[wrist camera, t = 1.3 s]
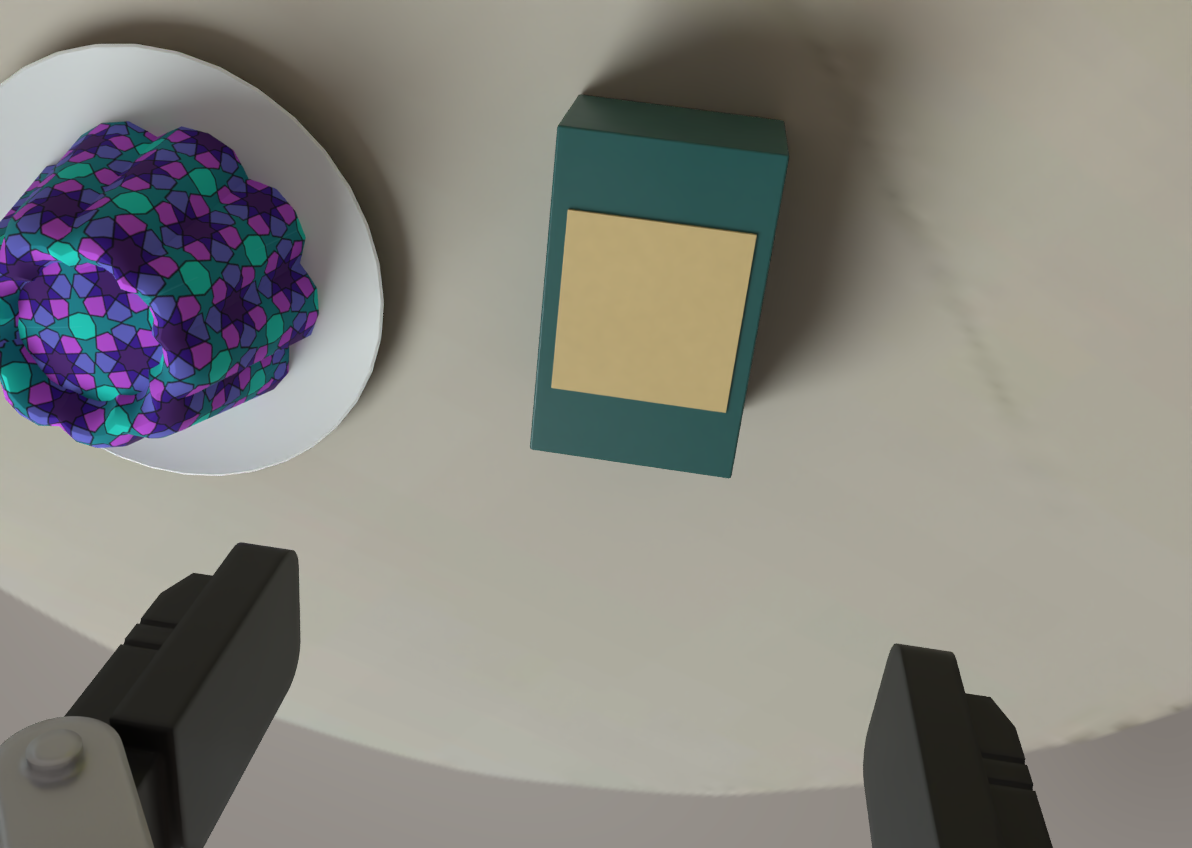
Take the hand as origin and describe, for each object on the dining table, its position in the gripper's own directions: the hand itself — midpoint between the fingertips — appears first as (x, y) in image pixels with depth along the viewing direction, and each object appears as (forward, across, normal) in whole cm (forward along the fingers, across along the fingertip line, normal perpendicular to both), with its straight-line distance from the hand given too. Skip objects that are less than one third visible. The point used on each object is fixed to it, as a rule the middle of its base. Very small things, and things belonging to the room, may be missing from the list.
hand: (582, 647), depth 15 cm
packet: (+16, 0, 0) cm, 16 cm away
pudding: (+16, +13, +2) cm, 21 cm away
